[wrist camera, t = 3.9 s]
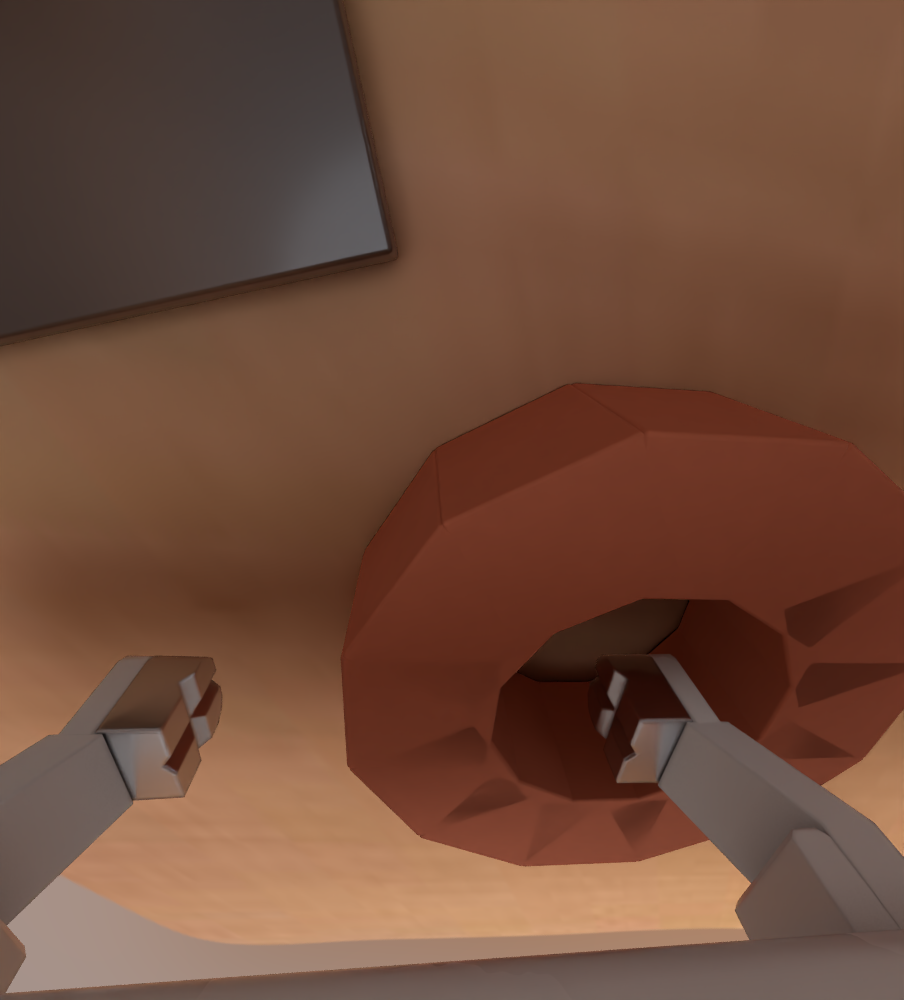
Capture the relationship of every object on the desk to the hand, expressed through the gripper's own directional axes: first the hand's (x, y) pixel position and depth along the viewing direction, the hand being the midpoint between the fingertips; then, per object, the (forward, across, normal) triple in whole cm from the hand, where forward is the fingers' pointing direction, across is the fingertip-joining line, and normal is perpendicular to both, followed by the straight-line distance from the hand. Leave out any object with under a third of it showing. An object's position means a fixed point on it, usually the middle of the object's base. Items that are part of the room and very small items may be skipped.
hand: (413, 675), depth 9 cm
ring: (+2, -4, 0) cm, 5 cm away
